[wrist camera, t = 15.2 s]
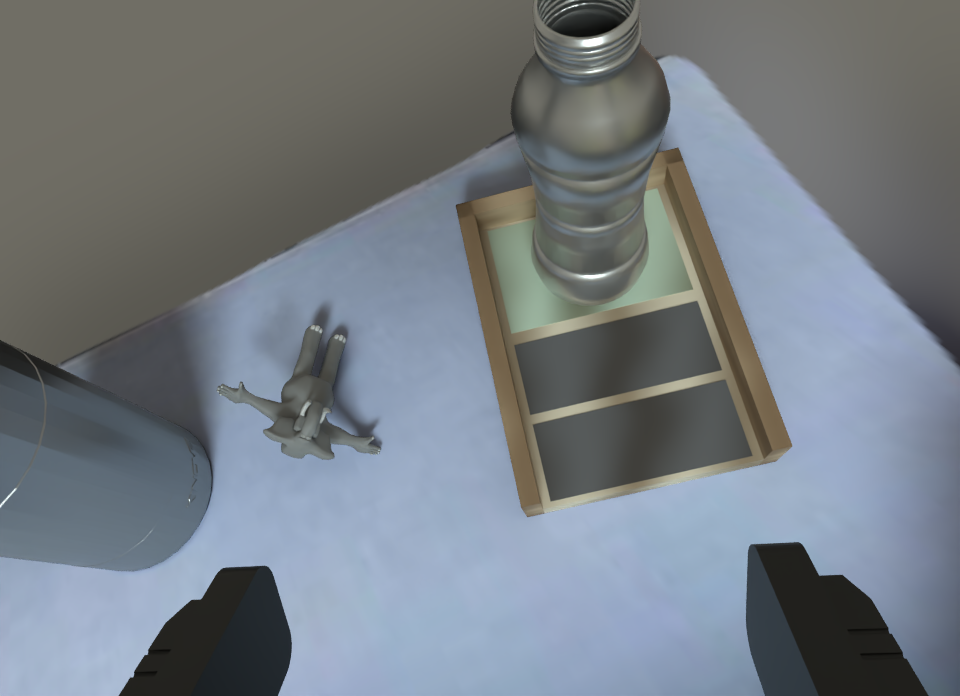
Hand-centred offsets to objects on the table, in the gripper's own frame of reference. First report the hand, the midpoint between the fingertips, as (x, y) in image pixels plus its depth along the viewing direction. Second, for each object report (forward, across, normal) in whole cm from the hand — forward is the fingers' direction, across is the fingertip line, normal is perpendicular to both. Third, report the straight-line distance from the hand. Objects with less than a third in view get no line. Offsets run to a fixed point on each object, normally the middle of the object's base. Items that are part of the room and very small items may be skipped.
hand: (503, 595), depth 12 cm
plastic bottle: (+32, -3, +5) cm, 33 cm away
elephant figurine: (+29, +14, +11) cm, 34 cm away
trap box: (+30, -4, +9) cm, 32 cm away
